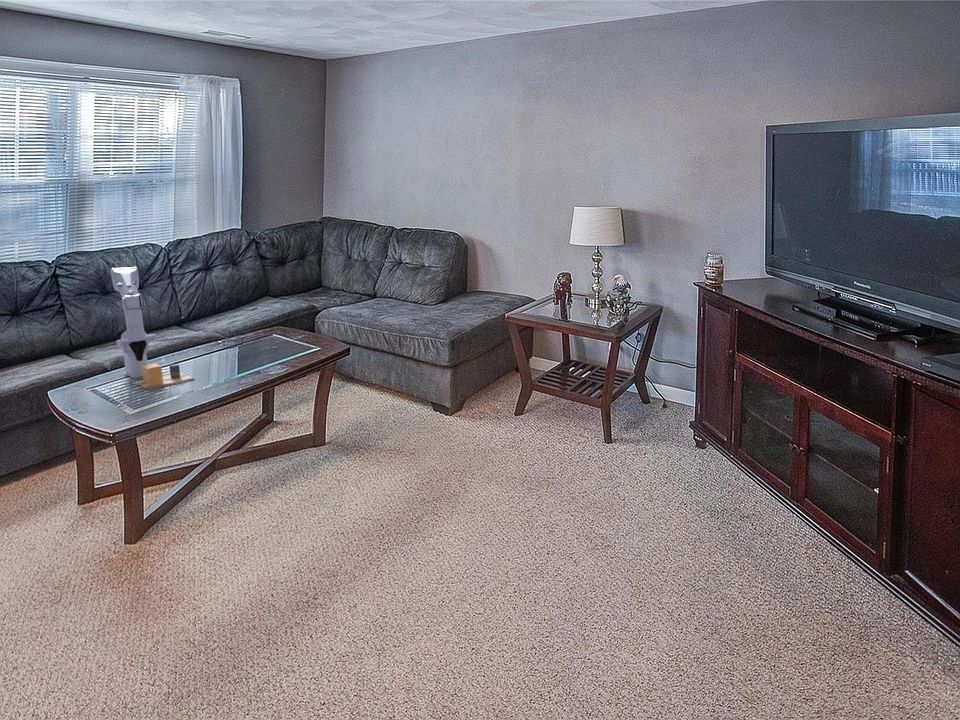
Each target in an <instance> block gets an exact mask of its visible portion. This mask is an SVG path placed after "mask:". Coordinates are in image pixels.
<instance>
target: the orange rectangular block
mask: <svg viewBox="0 0 960 720" xmlns="http://www.w3.org/2000/svg"><path fill="white" fill-rule="evenodd" d="M142 373H143V376H142V379H143V381H144V383H146V384H149V385H153V384H157V383H162V382H163V377H162V376H163V369H162V365H160V364H158V363H150V364H148V365H145V366H142Z"/></svg>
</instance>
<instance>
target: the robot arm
mask: <svg viewBox="0 0 960 720" xmlns="http://www.w3.org/2000/svg"><path fill="white" fill-rule="evenodd" d="M110 274H111V275H110V276H111V282H112V286H113V288H114V290H115V291H116V292H119V294H120V296H121V301H122V308H123V312H124V318H125V324H126V330H125V331H124V332H123V333H122V334H120V335H121V336H120V339H117V340H116V341H115V342H116V346H117V347H118V346H119V347H121V350H122V353H123V354H124V357H123V361H124V369H125V372H123V375H125V376H127V377H130V378H132V379H135V378H140V377H143V373H142V366H145V365H149V363H148V358H147V357H148V355H147V352H149V351H150V342H149V341H151V340H157V339H158V338H157V337H158V335H157V334H156V333H149V334H147V332H146V331H145V327H144V320H143V319H144V318H143V310H142V309H143V299H142V296H141V294H140V293H139V291H138V289H139V288H140V287H139V286H140V276H139V269H138V267H137V266H130V267H129V266H127V267H115V268H114V267H112V268H111V269H110Z"/></svg>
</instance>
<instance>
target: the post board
mask: <svg viewBox="0 0 960 720" xmlns="http://www.w3.org/2000/svg"><path fill="white" fill-rule="evenodd" d="M169 372H170V373H169V374H165V375H162V377H163V382H162V383H157V384H153V385H149V384H146V383H144V381H143V380H142V379H141V380H137V381H135V382H134V384H135V385H137V386H140V387H142V388H144V389H146V390H147V391H151V390H156V389H159V388H164V387H169V386H173V385H177V384H181V383H186V382H190V381H194V380H195V377H193V376H191V375H188V374H185V373H183V372H180V364H176V363H174V364H170V365H169Z"/></svg>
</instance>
